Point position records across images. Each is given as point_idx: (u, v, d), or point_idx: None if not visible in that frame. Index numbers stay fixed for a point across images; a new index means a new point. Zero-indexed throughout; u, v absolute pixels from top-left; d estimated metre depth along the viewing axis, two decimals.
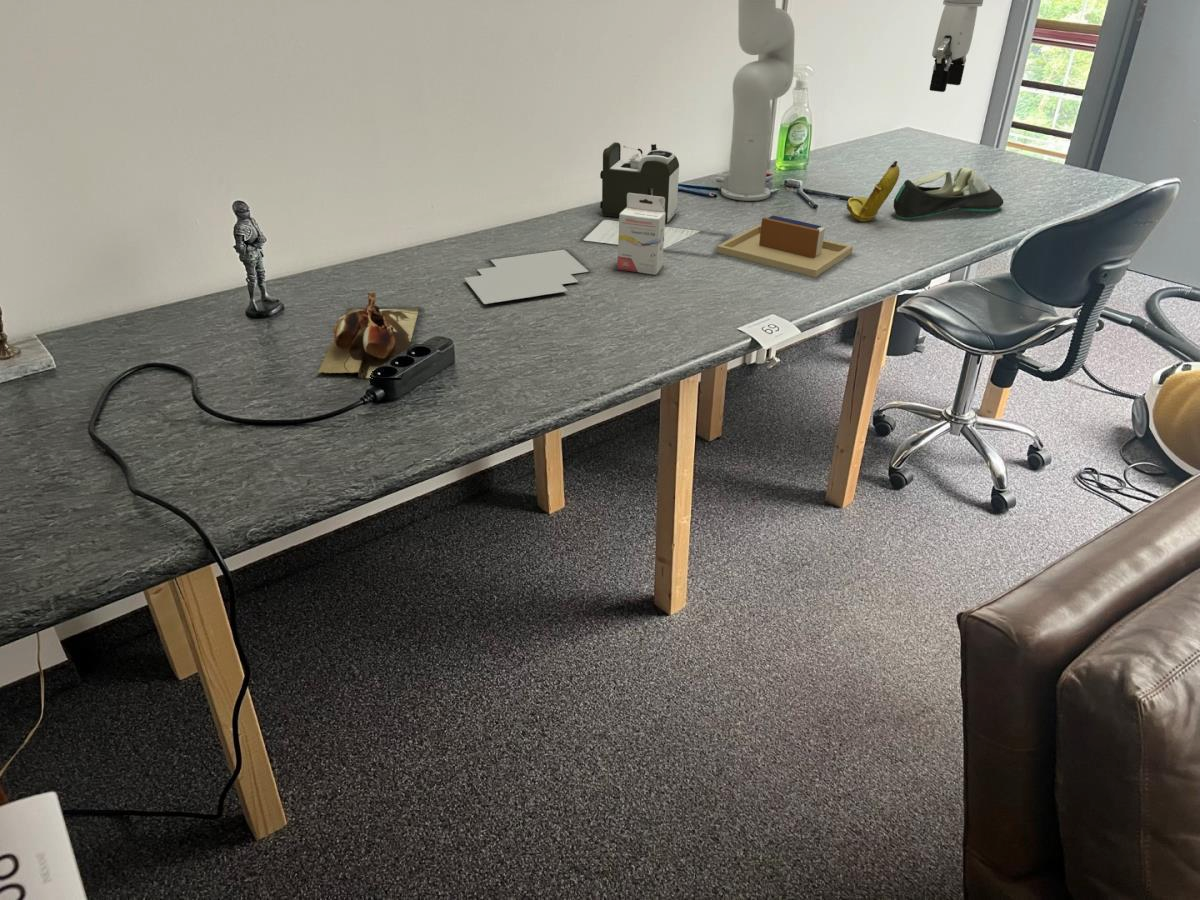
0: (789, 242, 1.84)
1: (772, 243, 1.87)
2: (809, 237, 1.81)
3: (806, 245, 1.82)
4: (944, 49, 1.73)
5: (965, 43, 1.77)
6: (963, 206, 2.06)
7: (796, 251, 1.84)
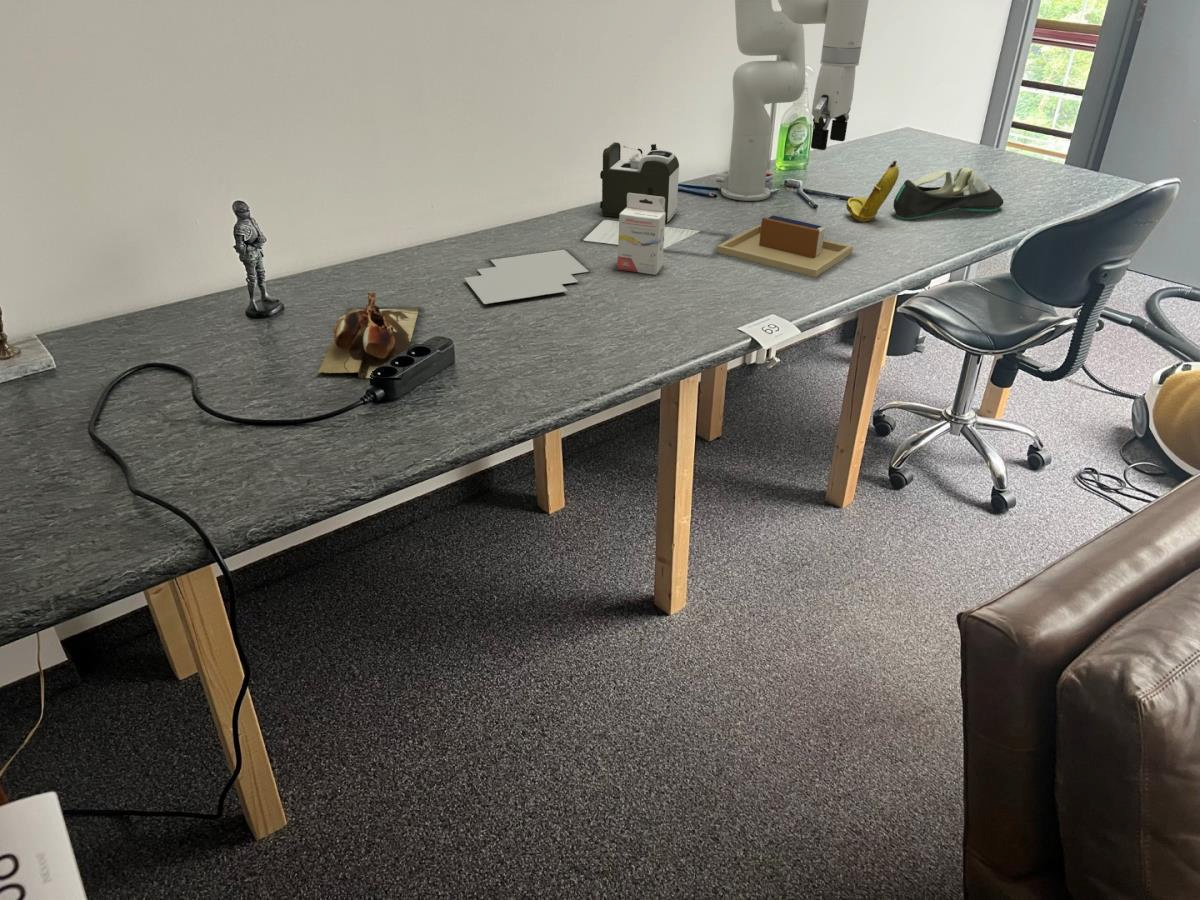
0: (789, 242, 1.84)
1: (772, 243, 1.87)
2: (809, 237, 1.81)
3: (806, 245, 1.82)
4: (821, 109, 1.72)
5: (844, 101, 1.75)
6: (963, 206, 2.06)
7: (796, 251, 1.84)
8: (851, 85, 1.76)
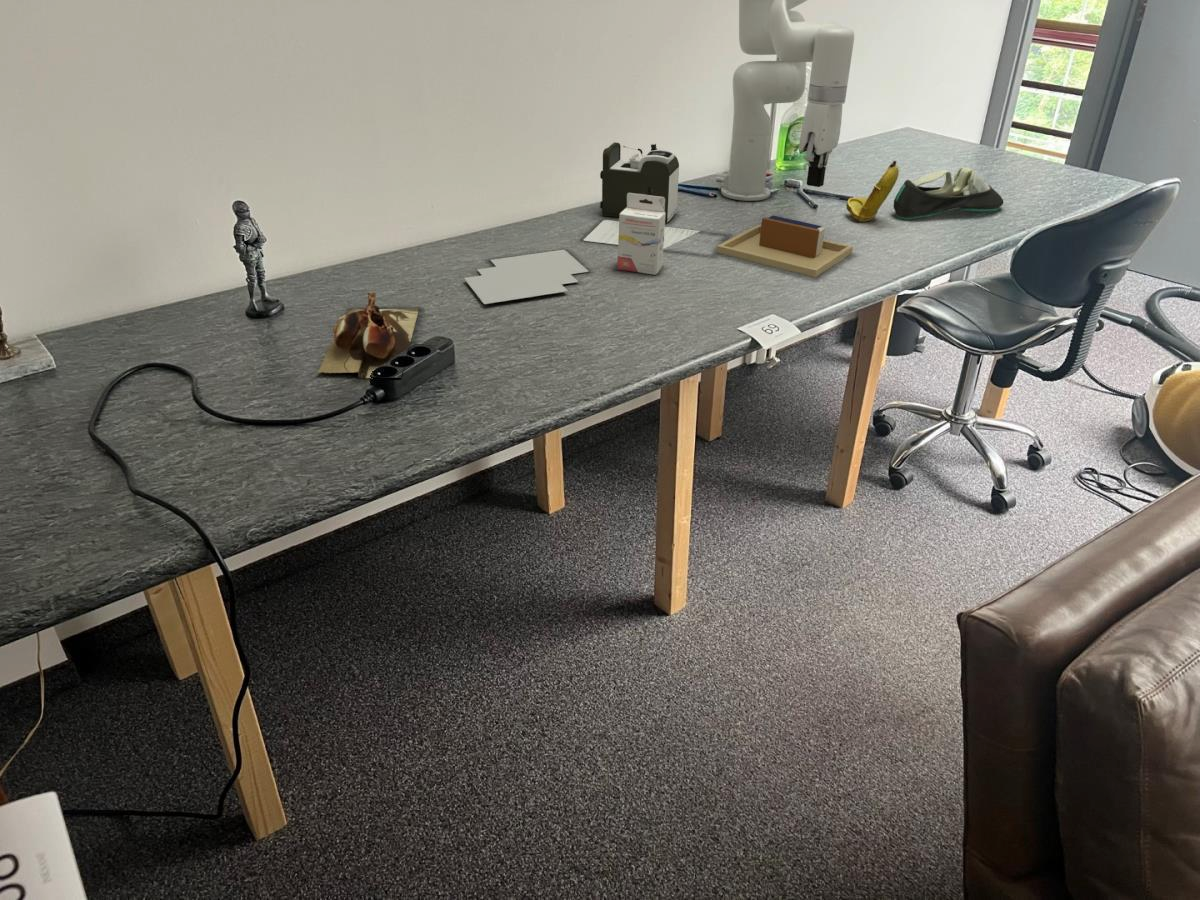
0: (789, 242, 1.84)
1: (772, 243, 1.87)
2: (809, 237, 1.81)
3: (806, 245, 1.82)
4: (812, 155, 1.78)
5: (831, 138, 1.79)
6: (963, 206, 2.06)
7: (796, 251, 1.84)
8: (838, 122, 1.79)
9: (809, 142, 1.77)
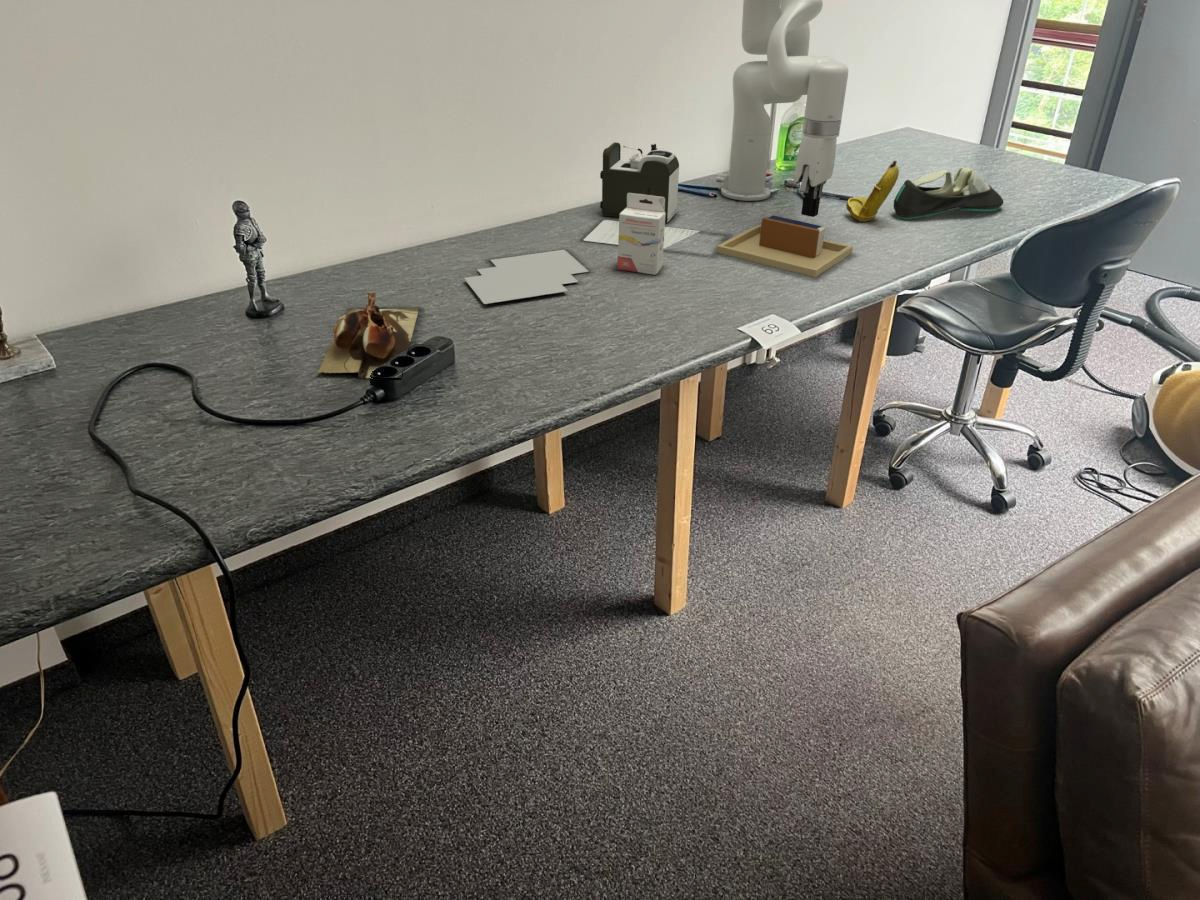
0: (789, 242, 1.84)
1: (772, 243, 1.87)
2: (809, 237, 1.81)
3: (806, 245, 1.82)
4: (806, 187, 1.82)
5: (825, 170, 1.82)
6: (963, 206, 2.06)
7: (796, 251, 1.84)
8: (832, 154, 1.82)
9: (804, 174, 1.81)
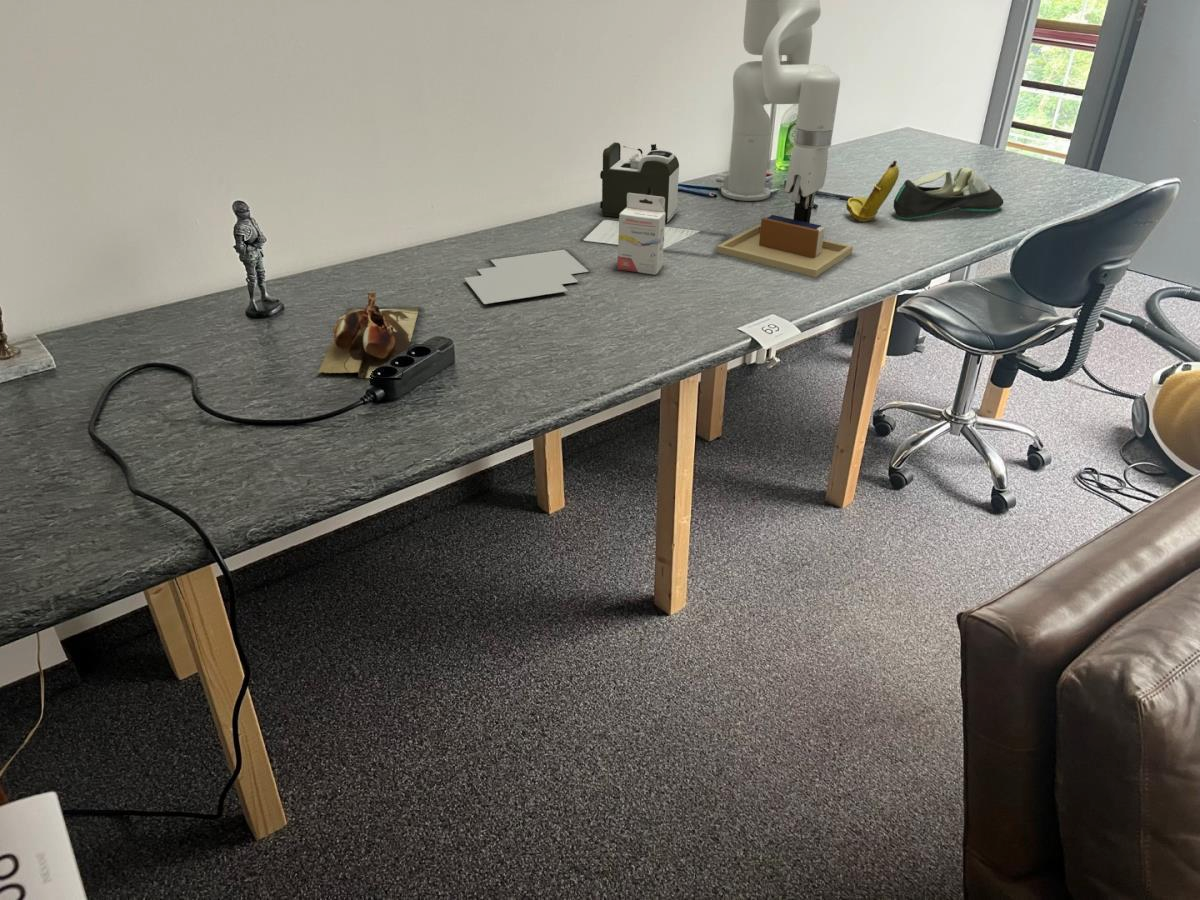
0: (789, 242, 1.84)
1: (772, 243, 1.87)
2: (809, 237, 1.81)
3: (805, 245, 1.82)
4: (798, 197, 1.80)
5: (817, 180, 1.80)
6: (963, 206, 2.06)
7: (796, 251, 1.84)
8: (824, 164, 1.80)
9: (795, 184, 1.79)
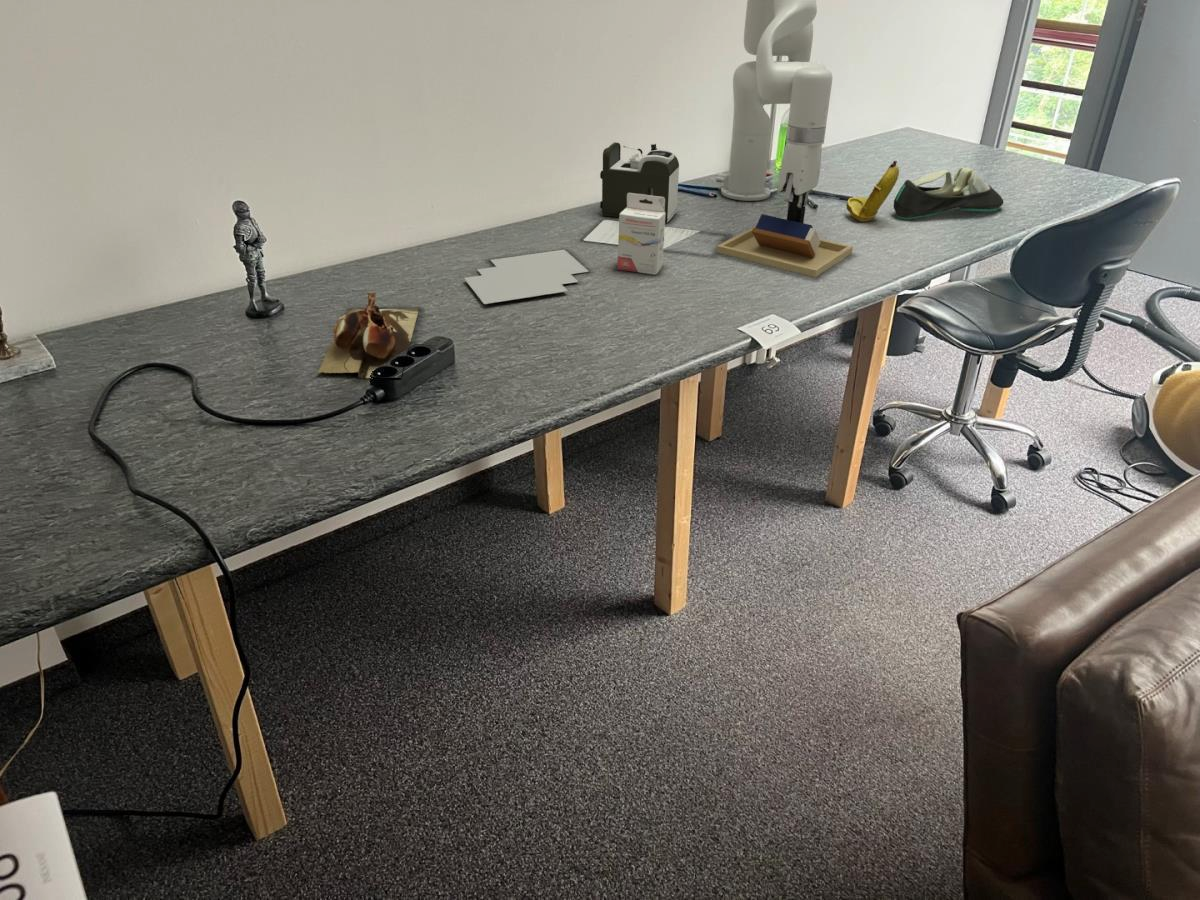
0: (785, 247, 1.84)
1: (770, 246, 1.86)
2: (802, 247, 1.80)
3: (802, 251, 1.81)
4: (790, 196, 1.77)
5: (810, 178, 1.77)
6: (963, 206, 2.06)
7: (795, 252, 1.84)
8: (817, 162, 1.77)
9: (788, 182, 1.76)
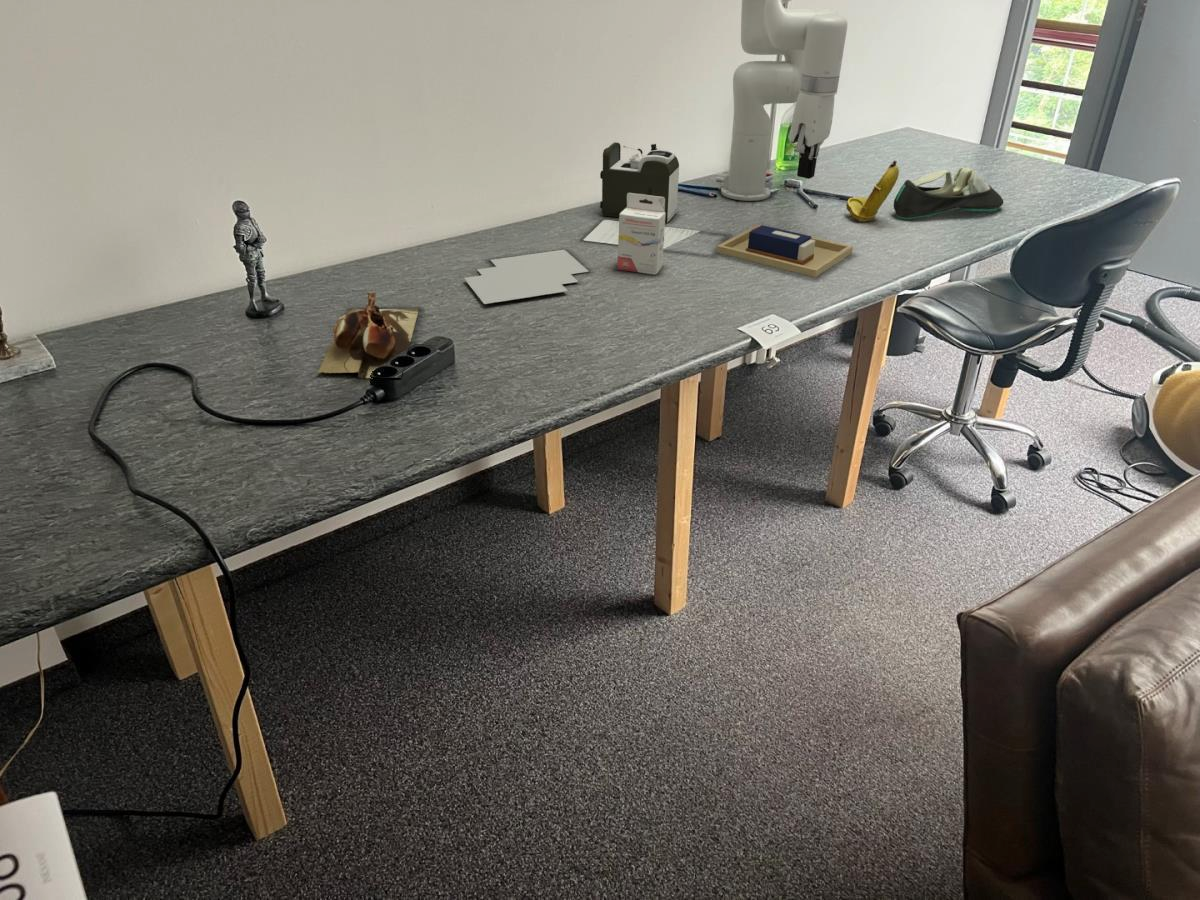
0: None
1: None
2: None
3: None
4: (802, 147, 1.75)
5: (822, 129, 1.75)
6: (963, 206, 2.06)
7: None
8: (830, 113, 1.75)
9: (800, 133, 1.74)
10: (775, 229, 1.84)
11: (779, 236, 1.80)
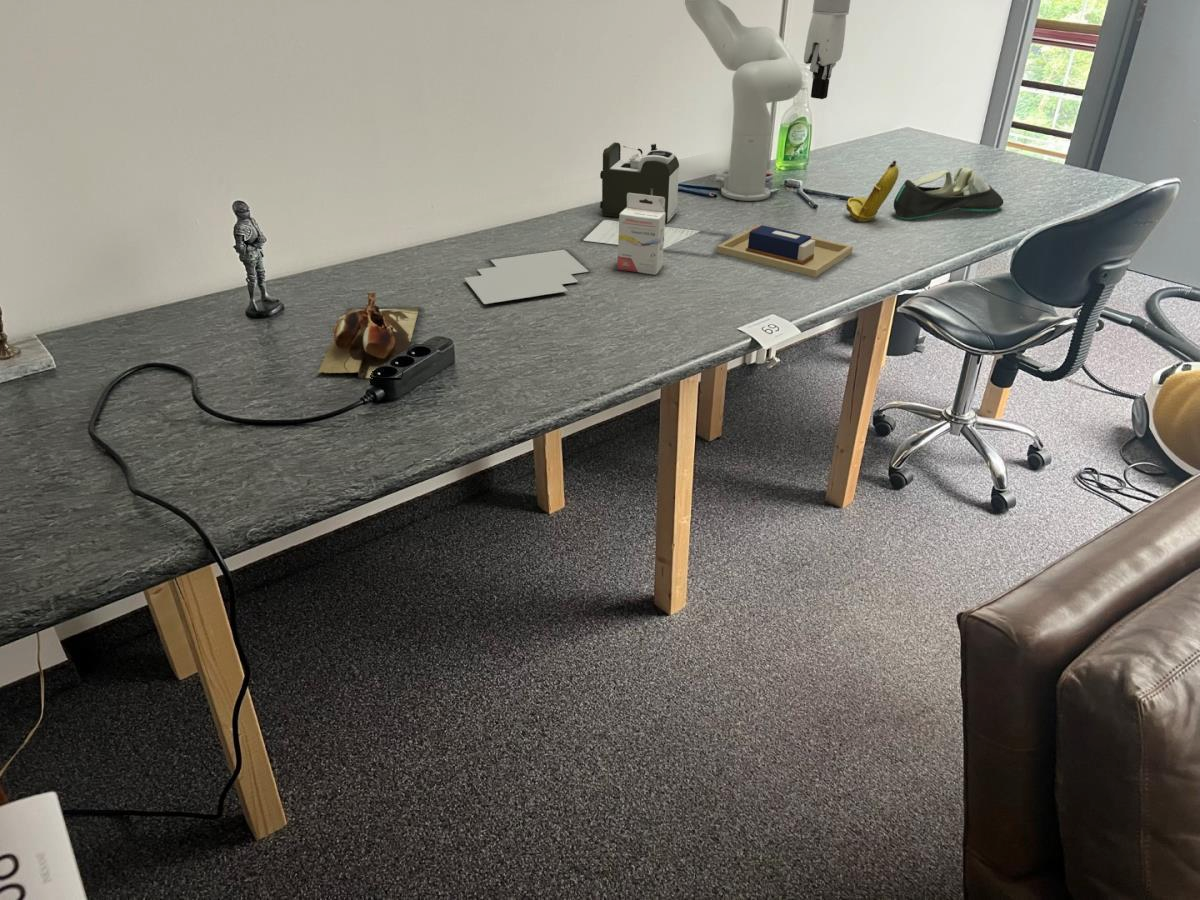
0: None
1: None
2: None
3: None
4: (816, 66, 1.85)
5: (834, 50, 1.86)
6: (963, 206, 2.06)
7: None
8: (841, 34, 1.86)
9: (814, 53, 1.85)
10: (775, 229, 1.84)
11: (779, 236, 1.80)
